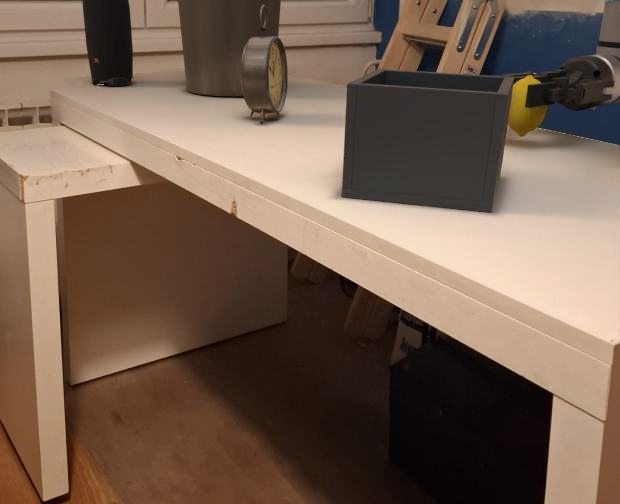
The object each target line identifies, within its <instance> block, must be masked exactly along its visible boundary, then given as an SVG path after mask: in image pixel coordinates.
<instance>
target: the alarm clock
mask: <svg viewBox="0 0 620 504" xmlns="http://www.w3.org/2000/svg"><path fill="white" fill-rule="evenodd" d="M263 7H264V13H265V21H264V25H262V21H261V18H262V10H263ZM266 19H267V13H266V7H265V5H262V7H261V10H260V30H261V36H260V37H252V38H251V39H249V40H248V42H247V43H246V45H245V47H244V50H243V54H242V59H241V77H240V80H241V86H242V92H243V96H242V97H243V99H244V102H245V105H246V106H247V108H248V109H249V110H250V115H249V118H252V116H253V114H260V120H259V124H260V125H264V123H265V120H264V119H265V117H266V114H275V115H277V116H278V115H280V112H282V110H283V109H284V106H285V104H286V100H287V94H288V83H289V82H288V81H289V80H288V79H289V77H288V73H289V72H288V59H287V53H286V49H285V45H284V42H283V41H282V39H281V37H279V36H278V37H277V36H271V37H267V35H266Z"/></svg>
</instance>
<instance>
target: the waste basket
mask: <svg viewBox="0 0 620 504" xmlns="http://www.w3.org/2000/svg"><path fill="white" fill-rule="evenodd" d="M281 2H282V0H177V7H178V15H179V16H178V17H179V25H180V35H181V36H180V37H181V45H182V55H183V63H184V64H183V65H184V75H185V85H186V91H187V92H188V93H191V94H196V95H203V96H212V97H213V96H214V97H215V96H216V97H244V96H243V92H242V86H241V80H240V77H241V59H242V54H243V50H244V47H245V45H246V43H247V42H248V40H249V39H251V38H252V37H260V36H261V30H260V10H261V7H262V5H265V7H266V13H267V19H266V35H267V37H271V36H277V37H279V34H280V19H281ZM261 21H262V25H264V21H265V13H264V7H263V10H262V18H261Z"/></svg>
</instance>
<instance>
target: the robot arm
mask: <svg viewBox="0 0 620 504" xmlns="http://www.w3.org/2000/svg"><path fill="white" fill-rule="evenodd" d="M603 3H604V7H603V12H602V18H601V26H600V31H599V37H598V41H597V45H596V50H595V54H592V55H591V54H589V55H581V56H575V57H572V58H570V59H568V60H566V61H565V62H563V64H562V65H561V66H560V67H559V69H554V70H553V71H541V72H540V74H539V75H538V74H537V72H534V71H533V70H528V71H525V72H519V73H508V74H497V75H496V76H504V77H514V83H513V85H514V84H515V83H516V82H517V81H519V80H521V79H523V78H526V77H527V76H528V75H532V76H533V77H534V79H536V80H538V81H540V82H541V83H539V84H531V85H528V88H527V95H526V102H525V107H527V108H533V107H539V106H545V105H547V106H550V105H555V104H559V105H561V106H562V107H564V108H566V109H567V110H570V111H575V112H576V111H577V112H578V111H579V112H580V111H584V110H589V112H594V111H596V108H598V107H602V106H603V107H604V106H609V105H614V104H620V0H604V2H603Z"/></svg>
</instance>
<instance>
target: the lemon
mask: <svg viewBox="0 0 620 504" xmlns="http://www.w3.org/2000/svg"><path fill="white" fill-rule="evenodd" d="M539 83H541V82H540V81H538V80H536V79H534V77H533V76H532V75H528V76H527V77H526V78H523V79H521V80H519V81H517V82H516V83H515V84H514V85H513V90H512V97H511V105H510V112H509V119H508V126H507V127H509V128H510V129H511V130H513V131H514V132H515V133H516V135H517V136H518V137H520V138H523V137H525V136H526V135H527V134H528V133H530V132H532V131H534V130H536V129H537V128H538V127H539V126H540V125H541V124H542V123H543V121H544V119H545V117H546V114H547V111H548V105H545V106H539V107H533V108H527V107H525V102H526V95H527V88H528V85H531V84H539Z"/></svg>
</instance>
